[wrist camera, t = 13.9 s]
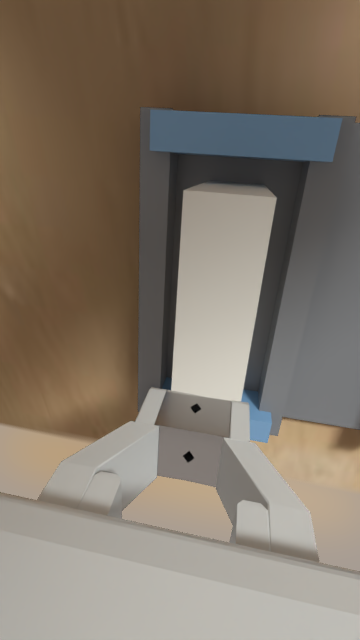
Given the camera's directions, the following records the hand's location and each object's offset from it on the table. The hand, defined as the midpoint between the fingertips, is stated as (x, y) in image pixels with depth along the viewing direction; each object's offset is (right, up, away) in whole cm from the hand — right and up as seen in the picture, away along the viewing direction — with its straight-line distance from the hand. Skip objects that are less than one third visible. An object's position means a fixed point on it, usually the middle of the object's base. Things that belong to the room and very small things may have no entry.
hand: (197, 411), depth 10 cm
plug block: (+2, +5, +10) cm, 12 cm away
